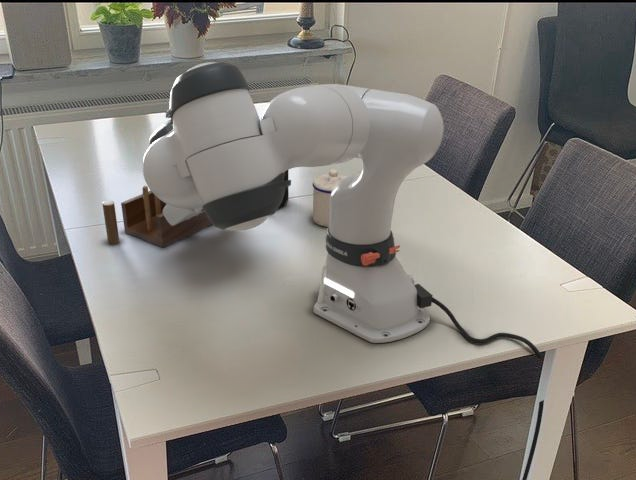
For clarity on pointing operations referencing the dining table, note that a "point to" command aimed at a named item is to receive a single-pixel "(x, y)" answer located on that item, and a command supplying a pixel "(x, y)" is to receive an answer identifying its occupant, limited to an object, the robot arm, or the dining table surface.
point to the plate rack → (157, 220)
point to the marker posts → (110, 222)
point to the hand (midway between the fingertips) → (189, 215)
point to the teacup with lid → (324, 196)
